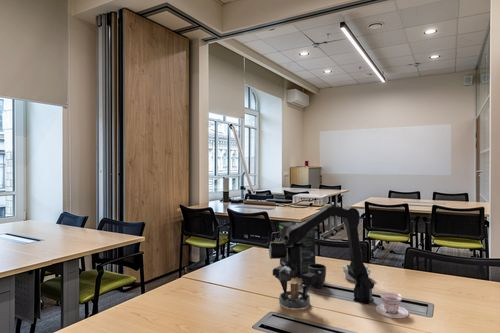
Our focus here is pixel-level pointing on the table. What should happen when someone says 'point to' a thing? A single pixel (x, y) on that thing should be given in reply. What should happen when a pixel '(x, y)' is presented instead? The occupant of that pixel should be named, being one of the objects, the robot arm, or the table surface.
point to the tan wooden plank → (294, 290)
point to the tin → (294, 301)
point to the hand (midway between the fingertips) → (294, 295)
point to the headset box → (306, 252)
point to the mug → (318, 274)
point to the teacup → (391, 306)
